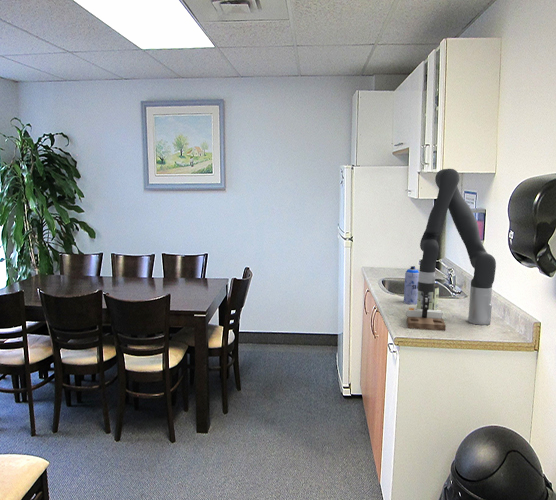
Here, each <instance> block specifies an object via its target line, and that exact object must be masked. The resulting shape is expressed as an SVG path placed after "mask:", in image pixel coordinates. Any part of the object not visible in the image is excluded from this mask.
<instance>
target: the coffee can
mask: <svg viewBox="0 0 556 500" xmlns="http://www.w3.org/2000/svg"><path fill="white" fill-rule="evenodd" d="M439 292H440V284H439V283H437V282H435V287H434V292H429V295H430V300H429V309H428V310H439V309H438V307H439ZM421 307H422V306H421V291H418V298H417V304H416V309H421ZM426 307H427V306H426Z"/></svg>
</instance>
